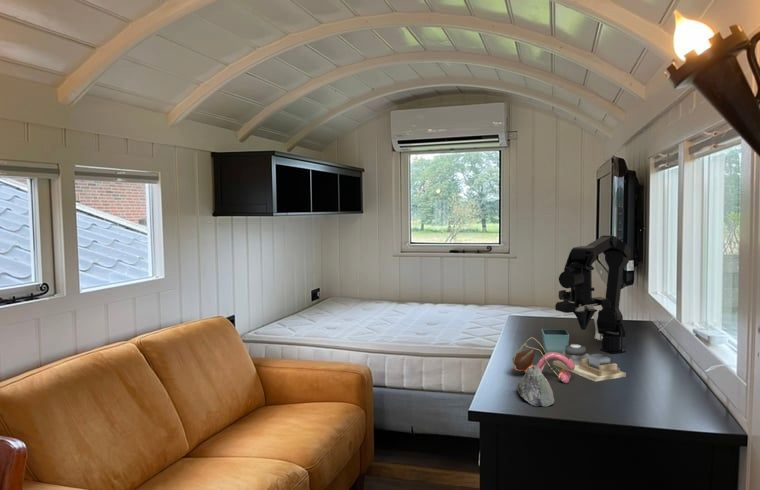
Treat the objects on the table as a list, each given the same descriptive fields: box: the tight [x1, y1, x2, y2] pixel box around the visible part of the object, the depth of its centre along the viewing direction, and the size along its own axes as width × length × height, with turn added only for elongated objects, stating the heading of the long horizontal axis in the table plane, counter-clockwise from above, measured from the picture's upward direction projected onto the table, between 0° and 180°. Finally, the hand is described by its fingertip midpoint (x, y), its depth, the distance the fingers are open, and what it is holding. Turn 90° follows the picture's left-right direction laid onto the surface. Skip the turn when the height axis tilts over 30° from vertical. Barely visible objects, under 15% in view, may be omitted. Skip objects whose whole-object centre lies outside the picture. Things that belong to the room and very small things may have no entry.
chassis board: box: [552, 352, 627, 382], centre depth 174 cm, size 12×20×4 cm, turn 19°
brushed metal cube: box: [589, 353, 611, 370], centre depth 169 cm, size 4×5×5 cm
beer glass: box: [593, 305, 603, 342], centre depth 214 cm, size 7×7×15 cm
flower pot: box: [541, 328, 570, 354], centre depth 191 cm, size 9×9×9 cm
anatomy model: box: [512, 336, 575, 384], centre depth 167 cm, size 11×15×17 cm
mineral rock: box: [516, 364, 555, 408], centre depth 149 cm, size 13×11×10 cm
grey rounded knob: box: [565, 343, 587, 355], centre depth 180 cm, size 6×6×5 cm
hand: (583, 329), depth 182 cm, fingers closed
